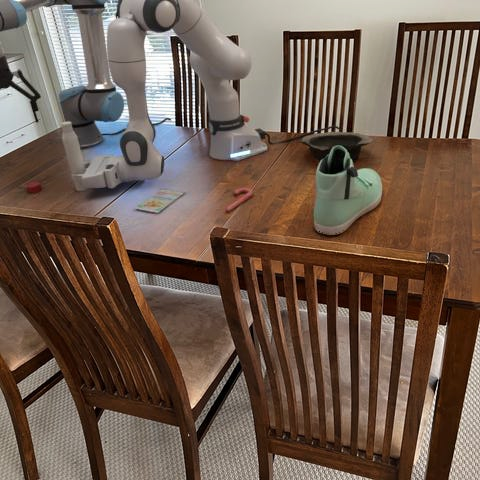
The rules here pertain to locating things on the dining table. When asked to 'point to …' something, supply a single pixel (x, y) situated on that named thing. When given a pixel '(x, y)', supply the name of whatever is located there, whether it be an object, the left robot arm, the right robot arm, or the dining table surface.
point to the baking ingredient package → (159, 200)
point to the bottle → (73, 153)
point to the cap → (33, 187)
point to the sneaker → (343, 192)
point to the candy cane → (236, 192)
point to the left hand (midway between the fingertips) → (15, 125)
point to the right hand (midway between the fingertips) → (75, 171)
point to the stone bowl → (336, 143)
